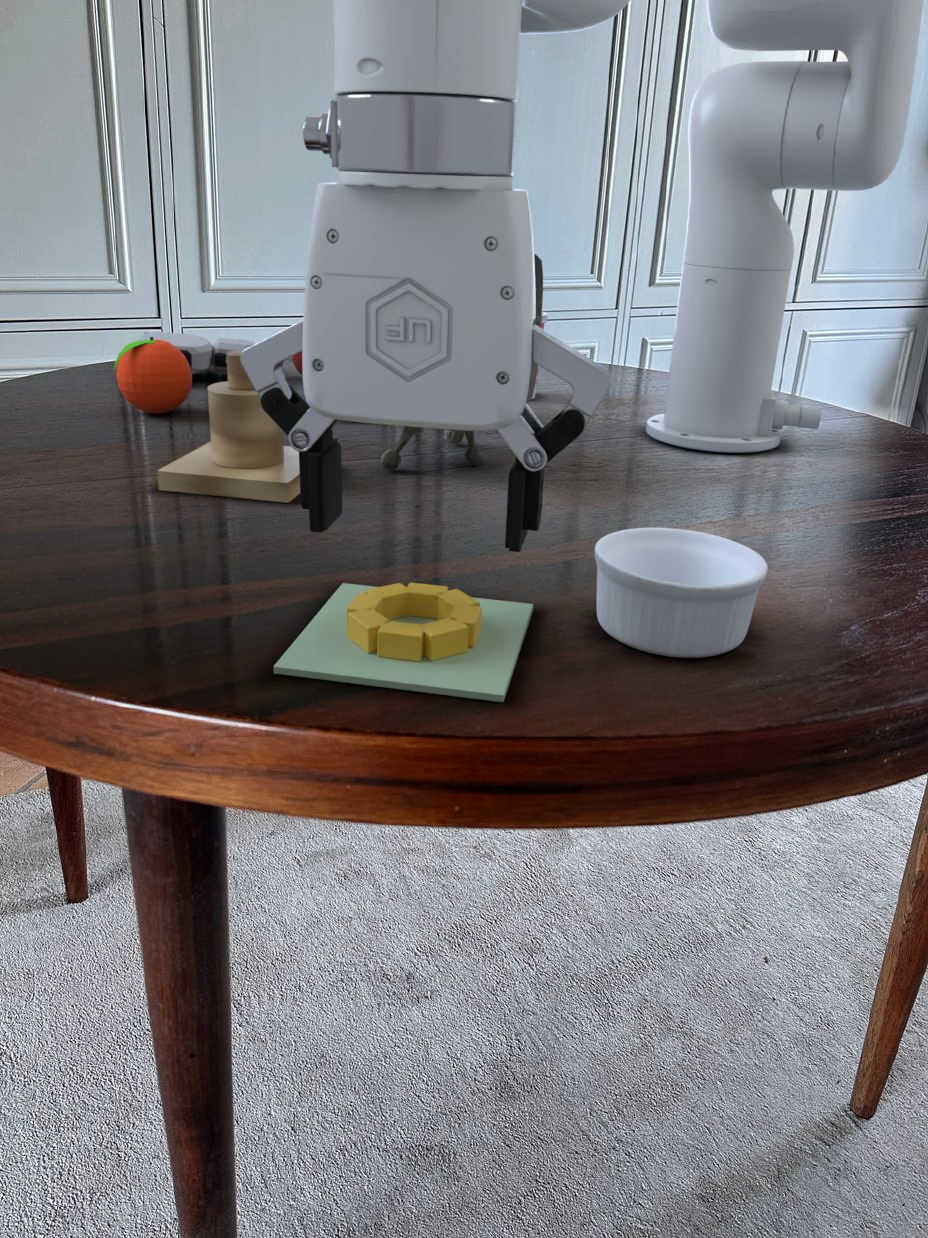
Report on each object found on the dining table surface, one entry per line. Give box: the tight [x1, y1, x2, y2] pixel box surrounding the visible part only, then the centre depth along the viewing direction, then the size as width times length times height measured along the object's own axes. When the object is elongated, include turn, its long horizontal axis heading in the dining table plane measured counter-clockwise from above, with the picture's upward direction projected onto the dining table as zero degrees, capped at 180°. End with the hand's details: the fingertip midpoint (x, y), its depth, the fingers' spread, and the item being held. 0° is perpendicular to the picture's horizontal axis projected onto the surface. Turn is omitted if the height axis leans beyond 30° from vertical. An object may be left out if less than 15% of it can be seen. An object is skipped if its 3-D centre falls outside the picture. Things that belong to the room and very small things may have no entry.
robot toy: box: [136, 331, 256, 376], centre depth 112 cm, size 12×4×15 cm
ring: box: [347, 582, 482, 662], centre depth 50 cm, size 7×7×1 cm
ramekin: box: [594, 527, 769, 659], centre depth 52 cm, size 9×9×4 cm
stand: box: [156, 350, 300, 504], centre depth 74 cm, size 10×10×10 cm
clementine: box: [113, 337, 193, 415], centre depth 94 cm, size 8×7×7 cm
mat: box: [273, 582, 534, 703], centre depth 51 cm, size 11×11×1 cm
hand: (420, 532), depth 49 cm, fingers open, 9 cm apart
